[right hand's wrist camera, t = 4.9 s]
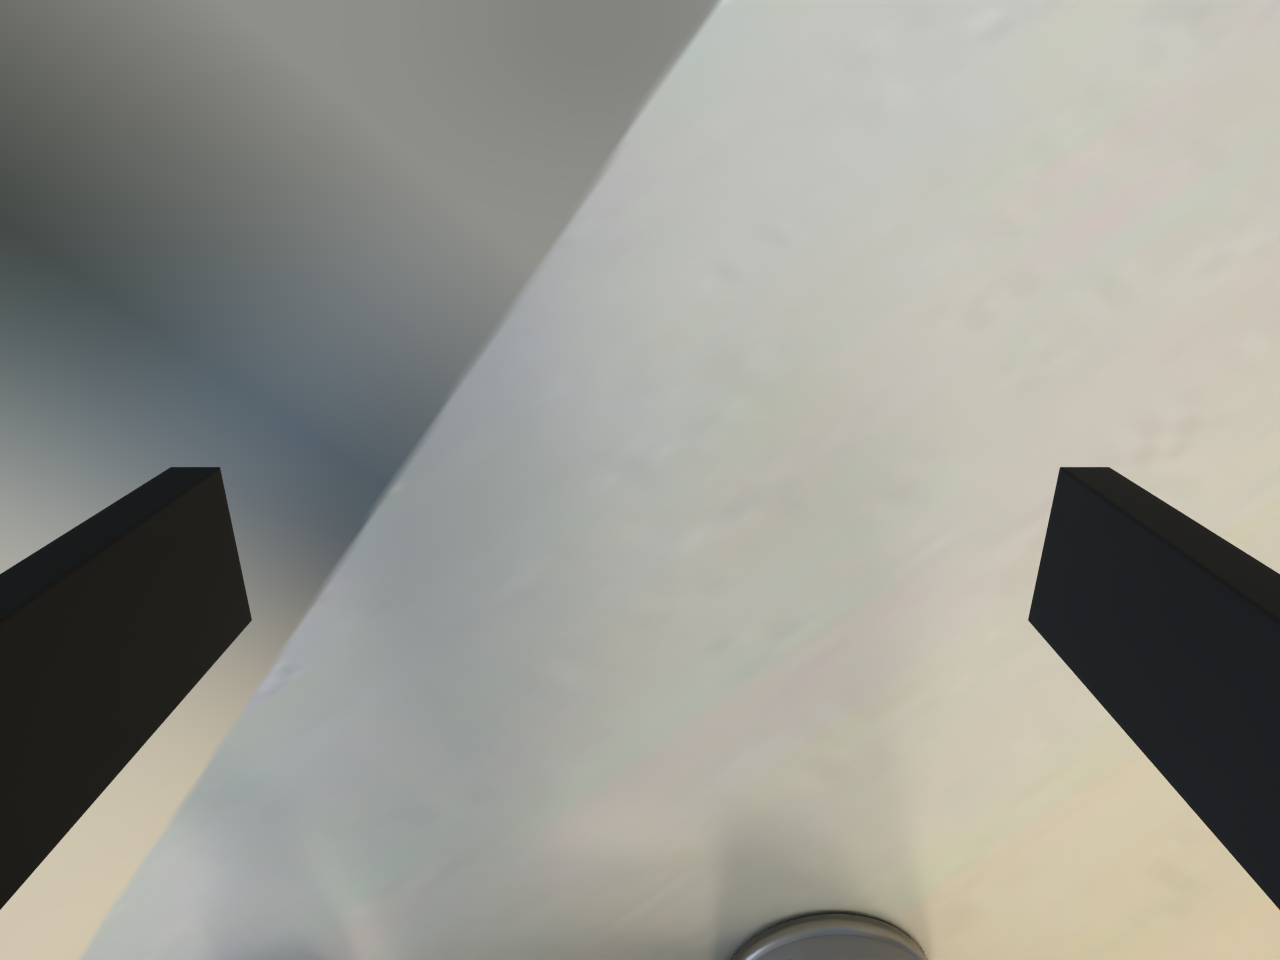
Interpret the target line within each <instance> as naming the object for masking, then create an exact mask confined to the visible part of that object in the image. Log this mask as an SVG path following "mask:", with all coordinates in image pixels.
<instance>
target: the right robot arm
mask: <svg viewBox="0 0 1280 960" xmlns="http://www.w3.org/2000/svg"><path fill="white" fill-rule="evenodd" d="M251 620H252V619H251V614H250V609H249V604H248V600H247V595H246V590H245V585H244V581H243V576H242V571H241V566H240V561H239V556H238V552H237V547H236V542H235V537H234V532H233V528H232V523H231V518H230V513H229V509H228V504H227V499H226V494H225V489H224V485H223V480H222V475H221V470H220V467H171V468H169V469H167V470H166V471H164V472H163V473H161V474H159V475H158V476H156V477H155V478H153V479H151V480H150V481H148V482H147V483H145V484H143V485H142V486H140V487H139V488H137V489H135V490H134V491H132V492H131V493H129V494H128V495H126V496H124V497H123V498H121V499H120V500H118V501H116V502H115V503H113V504H112V505H110V506H108V507H107V508H105V509H104V510H102V511H100V512H99V513H97V514H96V515H94V516H92V517H91V518H89V519H88V520H86V521H84V522H83V523H81V524H80V525H78V526H76V527H75V528H73V529H72V530H70V531H69V532H67V533H65V534H64V535H62V536H61V537H59V538H57V539H56V540H54V541H53V542H51V543H49V544H48V545H46V546H45V547H43V548H41V549H40V550H38V551H37V552H35V553H33V554H32V555H30V556H29V557H27V558H26V559H24V560H22V561H21V562H19V563H17V564H16V565H14V566H13V567H11V568H10V569H8V570H6V571H5V572H3V573H2V574H0V909H1V908H2V907H3V906H4V905H5V904H6V903H7V901H8V900H9V899H10V898H11V897H12V896H13V894H14V893H15V892H16V891H17V890H18V889H19V888H20V886H21V885H22V884H23V883H24V882H25V881H26V880H27V878H28V877H29V876H30V875H31V874H32V873H33V871H34V870H35V869H36V868H37V867H38V866H39V865H40V863H41V862H42V861H43V860H44V859H45V858H46V857H47V855H48V854H49V853H50V852H51V851H52V850H53V848H54V847H55V846H56V845H57V844H58V843H59V841H60V840H61V839H62V838H63V837H64V836H65V835H66V833H67V832H68V831H69V830H70V829H71V828H72V827H73V825H74V824H75V823H76V822H77V821H78V820H79V818H80V817H81V816H82V815H83V814H84V813H85V812H86V810H87V809H88V808H89V807H90V806H91V805H92V804H93V802H94V801H95V800H96V799H97V798H98V797H99V796H100V794H101V793H102V792H103V791H104V790H105V789H106V787H107V786H108V785H109V784H110V783H111V782H112V780H113V779H114V778H115V777H116V776H117V775H118V774H119V772H120V771H121V770H122V769H123V768H124V767H125V766H126V764H127V763H128V762H129V761H130V760H131V759H132V757H133V756H134V755H135V754H136V753H137V752H138V751H139V749H140V748H141V747H142V746H143V745H144V744H145V743H146V741H147V740H148V739H149V738H150V737H151V736H152V734H153V733H154V732H155V731H156V730H157V729H158V728H159V726H160V725H161V724H162V723H163V722H164V721H165V719H166V718H167V717H168V716H169V715H170V714H171V713H172V711H173V710H174V709H175V708H176V707H177V706H178V705H179V703H180V702H181V701H182V700H183V699H184V698H185V696H186V695H187V694H188V693H189V692H190V691H191V690H192V688H193V687H194V686H195V685H196V684H197V683H198V682H199V680H200V679H201V678H202V677H203V676H204V675H205V673H206V672H207V671H208V670H209V669H210V668H211V667H212V665H213V664H214V663H215V662H216V661H217V660H218V658H219V657H220V656H221V655H222V654H223V653H224V652H225V650H226V649H227V648H228V647H229V646H230V645H231V643H232V642H233V641H234V640H235V639H236V638H237V637H238V635H239V634H240V633H241V632H242V631H243V630H244V628H245V627H246V626H247V625H248V624H249V623H250V622H251ZM1028 620H1029V622H1030V623H1031V624H1032V625H1033V626H1034V627H1035V629H1036V630H1037V631H1038V632H1039V633H1040V634H1041V635H1042V637H1043V638H1044V639H1045V640H1046V641H1047V642H1048V644H1049V645H1050V646H1051V647H1052V648H1053V649H1054V650H1055V652H1056V653H1057V654H1058V655H1059V656H1060V657H1061V658H1062V660H1063V661H1064V662H1065V663H1066V664H1067V665H1068V667H1069V668H1070V669H1071V670H1072V671H1073V672H1074V673H1075V675H1076V676H1077V677H1078V678H1079V679H1080V680H1081V682H1082V683H1083V684H1084V685H1085V686H1086V687H1087V688H1088V690H1089V691H1090V692H1091V693H1092V694H1093V695H1094V696H1095V698H1096V699H1097V700H1098V701H1099V702H1100V703H1101V705H1102V706H1103V707H1104V708H1105V709H1106V710H1107V711H1108V713H1109V714H1110V715H1111V716H1112V717H1113V718H1114V720H1115V721H1116V722H1117V723H1118V724H1119V725H1120V726H1121V728H1122V729H1123V730H1124V731H1125V732H1126V733H1127V734H1128V736H1129V737H1130V738H1131V739H1132V740H1133V741H1134V743H1135V744H1136V745H1137V746H1138V747H1139V748H1140V749H1141V751H1142V752H1143V753H1144V754H1145V755H1146V756H1147V758H1148V759H1149V760H1150V761H1151V762H1152V763H1153V764H1154V766H1155V767H1156V768H1157V769H1158V770H1159V771H1160V772H1161V774H1162V775H1163V776H1164V777H1165V778H1166V779H1167V781H1168V782H1169V783H1170V784H1171V785H1172V786H1173V787H1174V789H1175V790H1176V791H1177V792H1178V793H1179V794H1180V796H1181V797H1182V798H1183V799H1184V800H1185V801H1186V802H1187V804H1188V805H1189V806H1190V807H1191V808H1192V809H1193V810H1194V812H1195V813H1196V814H1197V815H1198V816H1199V817H1200V819H1201V820H1202V821H1203V822H1204V823H1205V824H1206V825H1207V827H1208V828H1209V829H1210V830H1211V831H1212V832H1213V833H1214V835H1215V836H1216V837H1217V838H1218V839H1219V840H1220V842H1221V843H1222V844H1223V845H1224V846H1225V847H1226V848H1227V850H1228V851H1229V852H1230V853H1231V854H1232V855H1233V857H1234V858H1235V859H1236V860H1237V861H1238V862H1239V863H1240V865H1241V866H1242V867H1243V868H1244V869H1245V870H1246V871H1247V873H1248V874H1249V875H1250V876H1251V877H1252V878H1253V880H1254V881H1255V882H1256V883H1257V884H1258V885H1259V886H1260V888H1261V889H1262V890H1263V891H1264V892H1265V893H1266V895H1267V896H1268V897H1269V898H1270V899H1271V900H1272V901H1273V903H1274V904H1275V905H1276V906H1277V907H1278V908H1279V909H1280V574H1278V573H1277V572H1275V571H1274V570H1272V569H1270V568H1269V567H1267V566H1266V565H1264V564H1263V563H1261V562H1259V561H1258V560H1256V559H1255V558H1253V557H1251V556H1250V555H1248V554H1247V553H1245V552H1243V551H1242V550H1240V549H1239V548H1237V547H1235V546H1234V545H1232V544H1231V543H1229V542H1227V541H1226V540H1224V539H1223V538H1221V537H1219V536H1218V535H1216V534H1215V533H1213V532H1211V531H1210V530H1208V529H1207V528H1205V527H1204V526H1202V525H1200V524H1199V523H1197V522H1196V521H1194V520H1192V519H1191V518H1189V517H1188V516H1186V515H1184V514H1183V513H1181V512H1180V511H1178V510H1176V509H1175V508H1173V507H1172V506H1170V505H1168V504H1167V503H1165V502H1164V501H1162V500H1160V499H1159V498H1157V497H1156V496H1154V495H1152V494H1151V493H1149V492H1148V491H1146V490H1145V489H1143V488H1141V487H1140V486H1138V485H1137V484H1135V483H1133V482H1132V481H1130V480H1129V479H1127V478H1125V477H1124V476H1122V475H1121V474H1119V473H1117V472H1116V471H1114V470H1113V469H1111V468H1109V467H1060V470H1059V475H1058V480H1057V485H1056V489H1055V494H1054V499H1053V504H1052V508H1051V513H1050V518H1049V523H1048V528H1047V532H1046V537H1045V542H1044V547H1043V552H1042V556H1041V561H1040V566H1039V571H1038V576H1037V580H1036V585H1035V590H1034V595H1033V599H1032V604H1031V609H1030V614H1029V619H1028ZM731 960H928V959H927V957H926V955H925V954H924V952H923V951H922V949H921V948H920V947H919V946H918V944H917V943H916V942H915V941H914V940H912V939H911V938H910V937H909V936H908V935H906V934H905V933H904V932H902V931H900V930H899V929H897V928H895V927H893V926H891V925H889V924H887V923H884V922H882V921H879V920H876V919H872V918H868V917H864V916H858V915H851V914H819V915H811V916H806V917H801V918H797V919H793V920H790V921H787V922H784V923H781V924H778V925H776V926H774V927H771V928H769V929H767V930H765V931H764V932H762V933H760V934H759V935H757V936H755V937H754V938H753V939H751V940H750V941H749V942H747V943H746V944H745V945H744V946H743V947H742V948H740V950H739V951H738V952H737V953H736V954H735V955H734V956H733V958H732V959H731Z"/></svg>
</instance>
